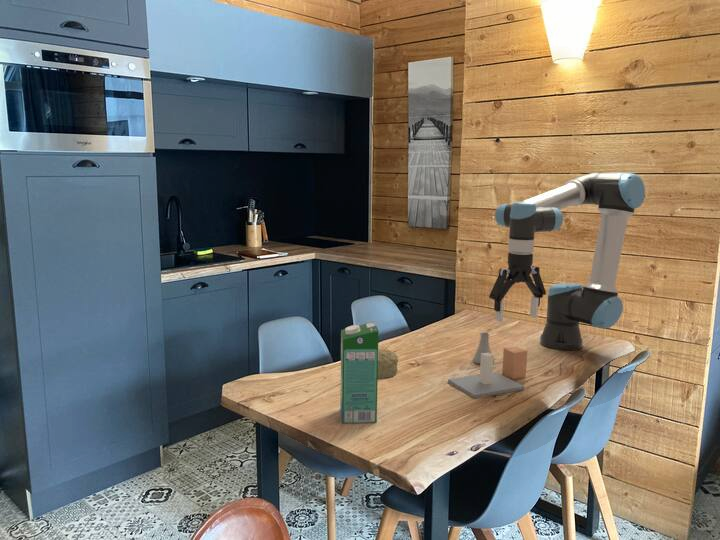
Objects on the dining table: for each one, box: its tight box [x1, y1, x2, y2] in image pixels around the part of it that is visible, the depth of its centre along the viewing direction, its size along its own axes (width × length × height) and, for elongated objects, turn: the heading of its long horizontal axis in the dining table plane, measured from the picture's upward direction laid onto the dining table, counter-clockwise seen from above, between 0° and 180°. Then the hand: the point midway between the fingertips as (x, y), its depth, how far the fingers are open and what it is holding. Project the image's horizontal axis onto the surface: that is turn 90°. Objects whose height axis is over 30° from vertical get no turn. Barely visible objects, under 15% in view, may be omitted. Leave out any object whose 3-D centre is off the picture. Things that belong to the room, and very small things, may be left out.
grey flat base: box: [447, 353, 525, 399], centre depth 185 cm, size 18×14×10 cm
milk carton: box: [339, 321, 379, 424], centre depth 160 cm, size 9×9×25 cm
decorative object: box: [378, 348, 399, 379], centre depth 195 cm, size 9×10×10 cm
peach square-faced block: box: [501, 346, 528, 380], centre depth 194 cm, size 5×5×9 cm
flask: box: [472, 331, 495, 365], centre depth 207 cm, size 7×7×10 cm
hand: (516, 319), depth 192 cm, fingers open, 13 cm apart
